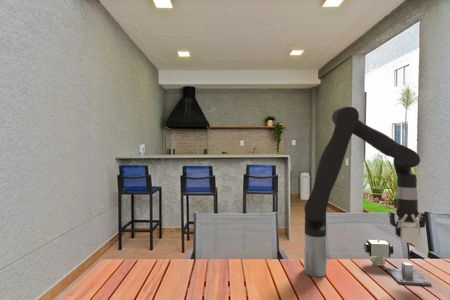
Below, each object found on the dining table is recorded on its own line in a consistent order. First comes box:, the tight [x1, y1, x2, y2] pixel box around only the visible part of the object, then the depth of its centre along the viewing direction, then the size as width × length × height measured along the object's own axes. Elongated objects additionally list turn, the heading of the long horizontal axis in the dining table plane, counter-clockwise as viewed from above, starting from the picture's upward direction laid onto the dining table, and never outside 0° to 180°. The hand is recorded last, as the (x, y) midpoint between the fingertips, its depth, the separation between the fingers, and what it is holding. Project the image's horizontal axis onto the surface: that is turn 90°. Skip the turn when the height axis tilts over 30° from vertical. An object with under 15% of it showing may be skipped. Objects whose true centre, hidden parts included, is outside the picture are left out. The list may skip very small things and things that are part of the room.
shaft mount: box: [385, 261, 432, 287], centre depth 119 cm, size 12×13×6 cm
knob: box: [395, 221, 420, 244], centre depth 118 cm, size 6×6×8 cm
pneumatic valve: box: [363, 239, 394, 267], centre depth 133 cm, size 6×12×12 cm, turn 78°
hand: (407, 236), depth 119 cm, fingers closed on knob, 6 cm apart
